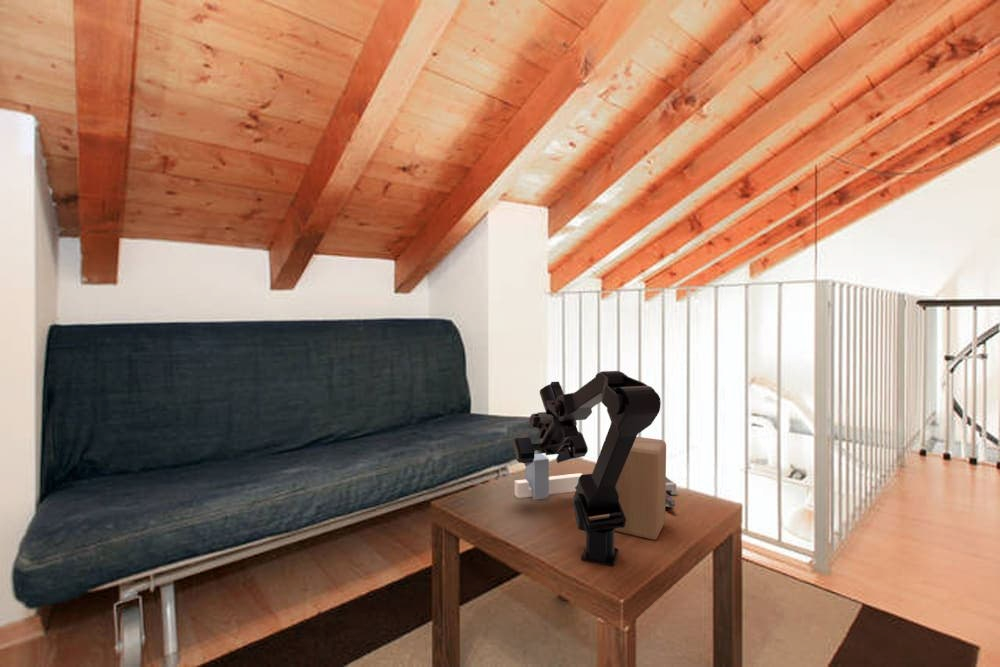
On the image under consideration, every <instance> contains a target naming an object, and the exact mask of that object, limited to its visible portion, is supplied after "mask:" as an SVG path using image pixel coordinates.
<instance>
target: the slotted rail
mask: <svg viewBox="0 0 1000 667" xmlns="http://www.w3.org/2000/svg"><path fill="white" fill-rule="evenodd" d="M581 475H584V474H583V473H582V472H579V473H571V474H569V473H568V474H562V475H561V474H560V475H552V476H551V475H550V476H549V495H556V494H564V493H572V492H576V489H575V487H576V486H577V484H578V480H579V477H580V476H581ZM514 496H515V497H516V499H524V498H530V497H532V498H533V489H531V488H530V487H529V482H528V481H527V480H526V478H524V479H517V480H514Z"/></svg>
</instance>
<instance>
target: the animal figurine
mask: <svg viewBox="0 0 1000 667" xmlns="http://www.w3.org/2000/svg"><path fill="white" fill-rule="evenodd" d="M666 507H668V508H671V509H673V508H676V503H675V499H674V498H673V497H672V496H671V495H670V494H668V492H666V495H665V508H666Z"/></svg>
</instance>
